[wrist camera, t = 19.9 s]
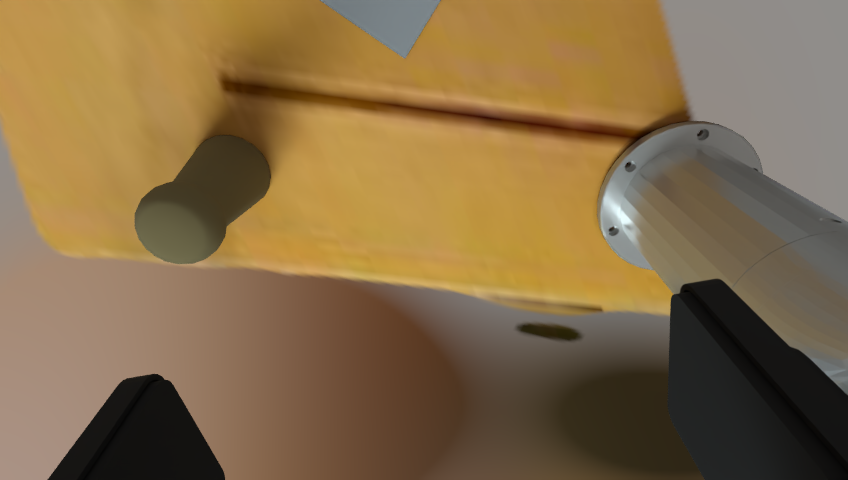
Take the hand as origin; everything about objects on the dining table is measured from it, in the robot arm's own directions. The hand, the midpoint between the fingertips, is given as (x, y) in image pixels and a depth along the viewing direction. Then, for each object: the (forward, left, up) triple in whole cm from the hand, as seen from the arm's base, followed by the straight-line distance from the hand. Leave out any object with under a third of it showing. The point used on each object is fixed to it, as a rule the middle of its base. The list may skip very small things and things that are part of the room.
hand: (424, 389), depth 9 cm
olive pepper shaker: (+9, +14, -31) cm, 35 cm away
